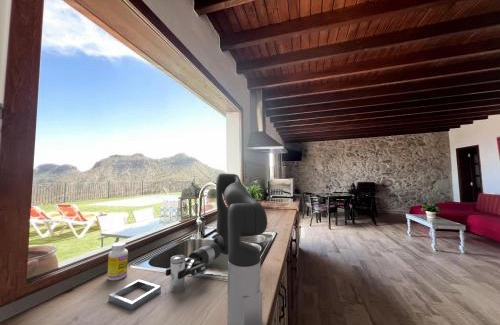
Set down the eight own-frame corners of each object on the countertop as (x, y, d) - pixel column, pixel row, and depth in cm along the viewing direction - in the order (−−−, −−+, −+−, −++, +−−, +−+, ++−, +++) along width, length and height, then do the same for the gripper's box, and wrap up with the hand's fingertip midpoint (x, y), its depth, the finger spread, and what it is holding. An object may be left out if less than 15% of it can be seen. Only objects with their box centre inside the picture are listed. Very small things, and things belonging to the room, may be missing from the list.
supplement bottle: (117, 282, 80) (119, 247, 81) (102, 280, 81) (104, 246, 82) (130, 273, 86) (132, 242, 87) (117, 272, 88) (118, 240, 88)
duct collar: (160, 292, 74) (160, 286, 74) (131, 310, 64) (131, 303, 64) (138, 284, 78) (138, 279, 78) (108, 301, 68) (108, 294, 68)
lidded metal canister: (186, 289, 75) (187, 258, 76) (172, 294, 72) (172, 261, 73) (182, 283, 80) (182, 253, 80) (167, 287, 77) (168, 256, 77)
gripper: (188, 245, 92) (157, 260, 77) (216, 251, 87) (188, 267, 71) (188, 263, 92) (157, 281, 77) (216, 269, 86) (188, 290, 71)
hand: (172, 274), depth 74 cm, fingers closed on lidded metal canister, 5 cm apart
